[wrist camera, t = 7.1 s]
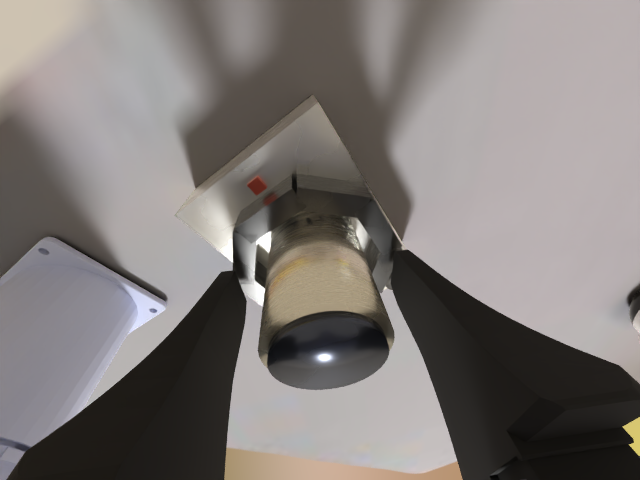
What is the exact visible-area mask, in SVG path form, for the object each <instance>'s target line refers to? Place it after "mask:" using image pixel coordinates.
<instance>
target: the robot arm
mask: <svg viewBox="0 0 640 480" xmlns="http://www.w3.org/2000/svg"><path fill="white" fill-rule="evenodd" d="M391 286H392V290H393V293H394V296H395V298H396V301H397V304H398V306H399V308H400V310H401V312H402V314H403V317H404V319H405V321H406V323H407V325H408V327H409V329H410V331H411V333H412V335H413V337H414V339H415V341H416V343H417V345H418V347H419V350H420V352H421V354H422V356H423V359H424V362H425V364H426V367H427V370H428V372H429V375H430V378H431V381H432V383H433V386H434V389H435V392H436V395H437V398H438V401H439V403H440V406H441V409H442V413H443V416H444V419H445V422H446V425H447V428H448V431H449V434H450V438H451V441H452V444H453V447H454V451H455V454H456V457H457V461H458V464H459V468H460V471H461V475H462V478H463V480H640V456H638V455H637V454H636V453H635V451H634V450H633V449H632V448H631V447H630V446H629V445H628V444H631V443H634V441H633V438H632V437H631V436H630V435H629V434H628V433H627V432H626V431H625V430H624V428H623V427H622V426H624V425H626V424H628V423H629V422H631V421H633V420H635V419H636V418H638V417H640V384H639V383H638V382H637V381H636V380H635V379H634V378H632V377H631V376H630V375H629V374H628V373H627V372H626V371H625V370H624V369H623V368H622V367H620V366H619V365H616V364H614V363H611V362H609V361H606V360H603V359H601V358H598V357H596V356H593V355H591V354H588V353H585V352H583V351H580V350H578V349H575V348H573V347H570V346H568V345H566V344H563V343H561V342H559V341H556V340H554V339H552V338H550V337H547V336H545V335H543V334H541V333H539V332H537V331H534V330H532V329H530V328H528V327H526V326H524V325H522V324H520V323H518V322H516V321H514V320H512V319H510V318H508V317H506V316H505V315H503V314H501V313H499V312H497V311H495V310H494V309H492V308H490V307H489V306H487V305H485V304H483V303H482V302H480V301H478V300H477V299H475V298H473V297H472V296H470V295H469V294H467V293H466V292H464V291H463V290H461V289H460V288H458V287H457V286H455V285H454V284H453V283H451V282H450V281H448V280H447V279H446V278H444V277H443V276H441V275H440V274H439V273H437V272H436V271H435V270H434V269H432V268H431V267H430V266H428V265H427V264H426V263H425V262H423V261H422V260H421V259H419V258H418V257H417V256H416V255H414V254H413V253H412V252H410V251H409V250H401V251H395V254H394V261H393V268H392V276H391ZM246 302H247V301H246V298H245V296H244V293H243V290H242V287H241V285H240V282H239V279H238V277H237V274H236V271H235V270H233V271H225V272H221V273H220V274H219V275H218V277H217V278H216V279H215V280H214V282H213V283H212V284H211V286H210V287H209V288H208V289H207V291H206V292H205V293H204V294H203V296H202V297H201V298H200V299H199V301H198V302H197V303H196V304H195V306H194V307H193V308H192V309H191V311H190V312H189V313H188V314H187V315H186V316H185V318H184V319H183V320H182V321H181V322H180V323H179V324H178V325H177V327H176V328H175V329H174V330H173V331H172V332H171V333H170V334H169V335H168V336H167V337H166V338H165V339H164V340H163V341H162V342H161V343H160V344H159V345H158V346H157V347H156V348H155V349H154V350H153V351H152V352H151V353H150V354H149V355H148V356H147V357H146V358H145V359H144V360H143V361H141V362H140V363H139V364H138V365H137V366H136V367H135V368H133V369H132V370H131V371H130V372H129V373H128V374H127V375H126V376H124V377H123V378H122V379H121V380H120V381H119V382H117V383H116V384H115V385H114V386H113V387H111V388H110V389H109V390H108V391H106V392H105V393H104V394H103V395H102V396H100V397H99V398H98V399H96V400H95V401H94V402H93V403H91V404H90V405H89V406H87V407H86V408H85V409H84V410H83V408H84V406H85V405H86V403H87V401H88V400H89V398H90V396H91V395H92V393H93V391H94V390H95V388H96V386H97V385H98V383H99V381H100V380H101V378H102V376H103V375H104V373H105V371H106V370H107V368H108V366H109V365H110V363H111V361H112V360H113V358H114V356H115V355H116V353H117V351H118V350H119V348H120V347H121V345H122V343H123V342H124V340H125V338H126V337H127V335H128V334H129V333H130V332H132V331H134V330H135V329H137V328H138V327H140V326H141V325H143V324H144V323H146V322H147V321H149V320H150V319H152V318H154V317H155V316H157V315H158V314H160V313H161V312H163V311H164V310H165V309H166V307H167V303H166V302H165V301H164V300H162V299H160V298H159V297H157V296H155V295H153V294H152V293H150V292H148V291H146V290H145V289H143V288H141V287H139V286H138V285H136V284H134V283H133V282H131V281H129V280H127V279H126V278H124V277H122V276H120V275H119V274H117V273H115V272H114V271H112V270H110V269H108V268H107V267H105V266H103V265H101V264H100V263H98V262H96V261H94V260H93V259H91V258H89V257H88V256H86V255H84V254H82V253H81V252H79V251H77V250H75V249H74V248H72V247H70V246H68V245H67V244H65V243H63V242H62V241H60V240H58V239H56V238H53V237H45V238H43V239H42V240H40V241H39V242H38V243H37V244H36V245H35V246H34V247H33V248H32V249H30V250H29V251H28V252H27V253H26V254H25V255H24V256H23V257H22V258H21V259H20V260H19V261H18V262H17V263H16V264H15V265H14V266H13V267H12V268H10V269H9V270H8V271H7V272H6V273H5V274H4V275H3V276H2V277H1V278H0V480H224V472H225V457H226V444H227V431H228V421H229V410H230V401H231V392H232V384H233V378H234V372H235V367H236V362H237V358H238V353H239V348H240V344H241V339H242V334H243V329H244V324H245V315H246Z"/></svg>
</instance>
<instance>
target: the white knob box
mask: <svg viewBox="0 0 640 480" xmlns="http://www.w3.org/2000/svg"><path fill="white" fill-rule="evenodd" d="M300 211H306V212H314V213H322V214H330V215H339V216H347V217H348V218H349V219H350V220H351V222H352V224H353V226H354V229H355V232H356V234H357V237H358V239H359V242H360V244H361V247H362V250H363V252H364V255H365V257H366V260H367V262H368V265H369V268H370V270H371V273H372V275H373V278H374V281H375V283H376V286H377V288H378V291H379V293H382V292H383V290H385V289H387V288H388V289H391V290H392V286H391V276H392V268H393V261H394V254H395V251H401V250H407V249H406V248H405V246H404V244H403V243H402V241H401V239H400V238H399V236H398V234H397V233H396V231H395V229H394V228H393V226H392V224H391V223H390V221H389V219H388V218H387V216H386V214H385V213H384V211H383V209H382V208H381V206H380V204H379V203H378V201H377V199H376V198H375V196H374V194H373V193H372V191H371V189H370V188H369V186H368V184H367V183H366V181H365V179H364V178H363V176H362V174H361V173H360V171H359V169H358V168H357V166H356V164H355V163H354V161H353V159H352V158H351V156H350V154H349V153H348V151H347V149H346V148H345V146H344V144H343V142H342V141H341V139H340V137H339V136H338V134H337V132H336V131H335V129H334V127H333V126H332V124H331V122H330V121H329V119H328V117H327V116H326V114H325V112H324V111H323V109H322V107H321V106H320V104H319V102H318V101H317V100H316V98H315V97H314V96H313V94H312V95H311V96H310V97H309V98H307V99H306V100H305V101H304V102H303V103H301V104H300V105H299V106H298V107H296V108H295V109H294V110H293V111H291V112H290V113H289V114H288V115H286V116H285V117H284V118H283V119H281V120H280V121H279V122H278V123H276V124H275V125H274V126H273V127H271V128H270V129H269V130H268V131H266V132H265V133H264V134H263V135H261V136H260V137H259V138H258V139H257V140H255V141H254V142H253V143H252V144H250V145H249V146H248V147H247V148H245V149H244V150H243V151H242V152H240V153H239V154H238V155H237V156H235V157H234V158H233V159H232V160H230V161H229V162H228V163H227V164H225V165H224V166H223V167H222V168H220V169H219V170H218V171H217V172H215V173H214V174H213V175H212V176H211V177H209V178H208V179H207V180H206V181H204V182H203V183H202V184H201V185H199V186H198V187H197V188H196V189H195V190H194V191H193V192H192V194H191V195H190V196H189V198H188V199H187V200H186V201H185V203H184V204H183V205H182V207H181V208H180V209H179V211H178V212H177V213H176V214H175V217H177V218H178V219H179V220H180V221H182V222H183V223H184V224H185V225H187V226H188V227H189V228H190V229H192V230H193V231H194V232H195V233H197V234H198V235H199V236H200V237H202V238H203V239H204V240H205V241H207V242H208V243H209V244H210V245H212V246H213V247H214V248H215V249H217V250H218V251H219V252H220V253H222V254H223V255H224V256H225V257H227V258H228V259H229V260H230V261H232V262H233V270H235V271H236V274H237V277H238V279H239V282H240V285H241V287H242V290H243V293H245V294H246V295H247V296H249V297H250V298H251V299H253V300H254V301H255V302H257V303H258V304H259V305H261V306H262V307H263V302H264V293H265V284H266V275H267V267H268V258H269V249H270V241H271V234H272V230H273V229H275V228H276V227H278V226H279V225H281V224H282V223H284V222H285V221H287V220H288V219H290V218H291V217H293V216H294V215H296V214H297V213H299V212H300Z"/></svg>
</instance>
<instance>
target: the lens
mask: <svg viewBox="0 0 640 480" xmlns="http://www.w3.org/2000/svg"><path fill="white" fill-rule="evenodd" d="M393 342H394V330H393V327H392V324H391V322H390V319H389V317H388V314H387V311H386V309H385V306H384V304H383V301H382V299H381V296H380V293H379V291H378V288H377V286H376V283H375V281H374V278H373V275H372V273H371V270H370V268H369V265H368V262H367V260H366V257H365V255H364V252H363V250H362V247H361V244H360V242H359V239H358V237H357V234H356V232H355V229H354V226H353V224H352V222H351V220H350V219H349V218H348V217H347V216H339V215H330V214H322V213H314V212H306V211H300V212H299V213H297V214H296V215H294V216H293V217H291V218H290V219H288V220H287V221H285V222H284V223H282V224H281V225H279V226H278V227H276V228H275V229H273V230H272V234H271V241H270V249H269V258H268V267H267V275H266V284H265V293H264V302H263V310H262V319H261V328H260V337H259V345H258V353H259V357H260V359H261V361H262V363H263V364H264V365H265V366H266V367H267V368H268V370H269V372H270V373H271V375H272V376H273V377H274V378H275V379H277V380H278V381H280V382H282V383H284V384H286V385H289V386H292V387H296V388H301V389H310V390H323V389H332V388H338V387H343V386H347V385H350V384H353V383H356V382H358V381H361V380H363V379H365V378H367V377H369V376H370V375H372V374H373V373H375V372H376V371H377V370H378V369H380V368H381V367H382V365H383V364H384V363H385V361H386V360H387V358H388V355H389V351H390V349H391V347H392V345H393Z"/></svg>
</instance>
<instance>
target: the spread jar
mask: <svg viewBox="0 0 640 480" xmlns="http://www.w3.org/2000/svg"><path fill="white" fill-rule="evenodd" d="M629 315H630V320H631V322H632V324H633V326H634V328H635V329H636V330H637V331H638V332H639V338H638V340H639V343H640V290H639V291H638V292H637V293H636V294H635V295H634V296H633V298H632V300H631V304H630V309H629Z"/></svg>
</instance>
